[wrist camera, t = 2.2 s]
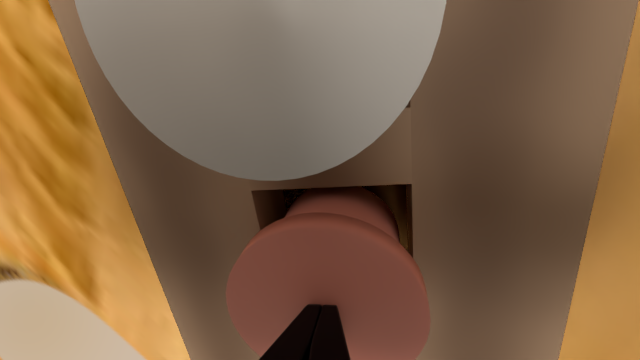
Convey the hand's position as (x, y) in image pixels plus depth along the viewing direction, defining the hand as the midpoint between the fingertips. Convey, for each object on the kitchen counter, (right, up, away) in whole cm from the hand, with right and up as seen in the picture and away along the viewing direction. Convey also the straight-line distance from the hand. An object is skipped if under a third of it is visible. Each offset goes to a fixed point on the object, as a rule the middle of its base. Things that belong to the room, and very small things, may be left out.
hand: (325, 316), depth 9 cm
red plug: (+1, +2, +4) cm, 4 cm away
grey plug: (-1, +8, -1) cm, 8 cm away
